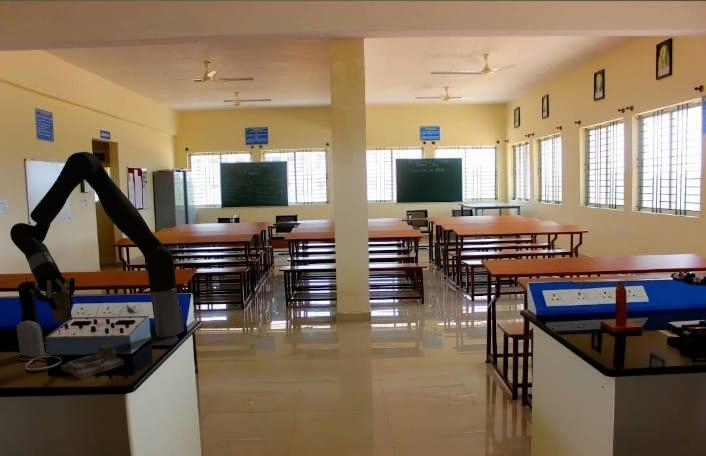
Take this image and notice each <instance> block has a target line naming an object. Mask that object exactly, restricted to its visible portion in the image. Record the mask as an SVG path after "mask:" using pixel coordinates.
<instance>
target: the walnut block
mask: <svg viewBox="0 0 706 456" xmlns="http://www.w3.org/2000/svg"><path fill="white" fill-rule="evenodd" d="M51 295H52V298H53V299H54V301H55V304H56V306H57V309H56V310H53V309H51V312H52V313H51V314H52V319H53V321H54V322H56V323H63V322H68V321H70V320H73V315H72V309H71V307H70V301H69V294H68V292H63V291H62V292H54V293H52V294H51Z"/></svg>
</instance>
